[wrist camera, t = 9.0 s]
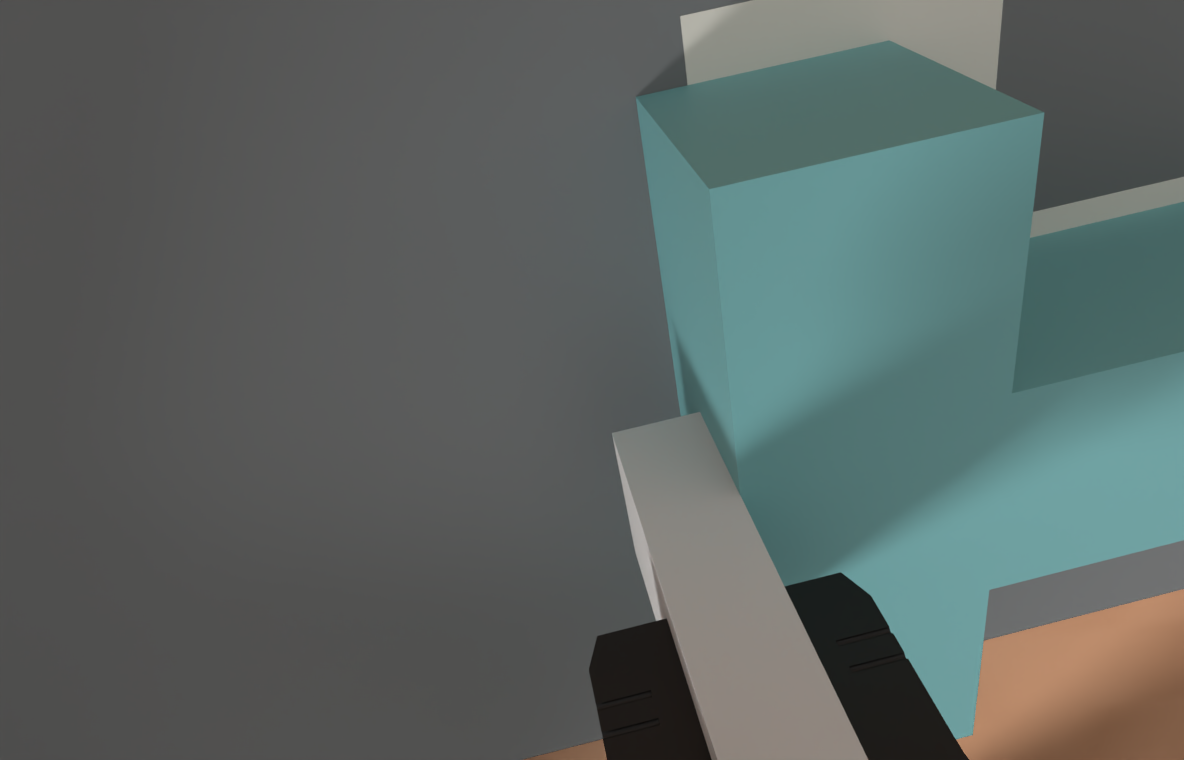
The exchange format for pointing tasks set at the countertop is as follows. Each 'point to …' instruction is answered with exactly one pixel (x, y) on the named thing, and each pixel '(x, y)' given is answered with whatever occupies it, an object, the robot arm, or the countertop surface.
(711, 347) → the t block
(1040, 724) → the countertop surface
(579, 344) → the board
